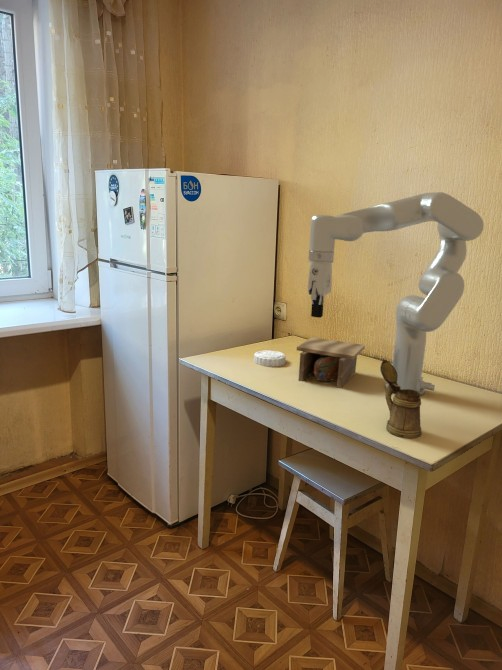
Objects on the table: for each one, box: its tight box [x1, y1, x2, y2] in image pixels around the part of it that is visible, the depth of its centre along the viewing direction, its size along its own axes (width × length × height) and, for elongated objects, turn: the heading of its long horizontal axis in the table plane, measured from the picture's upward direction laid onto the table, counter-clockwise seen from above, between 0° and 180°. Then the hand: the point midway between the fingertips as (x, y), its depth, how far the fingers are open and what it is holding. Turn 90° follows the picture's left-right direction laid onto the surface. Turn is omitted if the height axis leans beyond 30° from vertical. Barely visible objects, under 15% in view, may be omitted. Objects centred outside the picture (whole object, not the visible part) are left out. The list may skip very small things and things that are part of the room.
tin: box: [313, 356, 341, 383], centre depth 177 cm, size 15×3×8 cm, turn 128°
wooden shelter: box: [296, 336, 366, 389], centre depth 180 cm, size 20×20×11 cm
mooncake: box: [253, 349, 287, 368], centre depth 195 cm, size 12×12×4 cm
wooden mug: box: [379, 359, 422, 439], centre depth 137 cm, size 9×14×18 cm, turn 40°
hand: (316, 316), depth 158 cm, fingers closed
